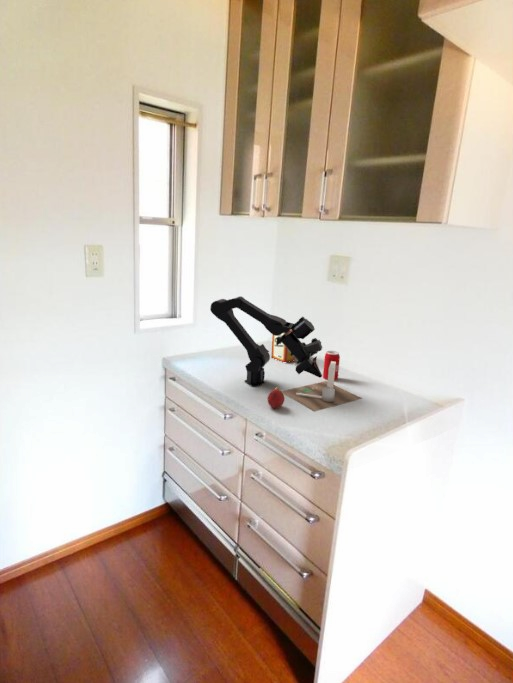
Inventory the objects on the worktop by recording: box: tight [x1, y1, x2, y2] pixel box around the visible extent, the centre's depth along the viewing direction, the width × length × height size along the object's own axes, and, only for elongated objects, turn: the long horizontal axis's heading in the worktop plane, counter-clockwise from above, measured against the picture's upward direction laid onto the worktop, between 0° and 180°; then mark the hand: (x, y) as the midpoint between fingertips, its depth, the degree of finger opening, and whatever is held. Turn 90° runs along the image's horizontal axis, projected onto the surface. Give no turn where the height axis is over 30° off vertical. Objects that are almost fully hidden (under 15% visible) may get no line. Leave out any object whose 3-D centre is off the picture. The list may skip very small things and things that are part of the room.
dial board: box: [280, 380, 363, 412], centre depth 156 cm, size 24×20×1 cm
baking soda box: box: [270, 330, 296, 363], centre depth 196 cm, size 10×6×16 cm
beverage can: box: [322, 350, 341, 382], centre depth 173 cm, size 6×6×12 cm
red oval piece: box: [267, 386, 285, 409], centre depth 143 cm, size 6×6×8 cm
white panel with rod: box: [296, 361, 336, 402], centre depth 155 cm, size 13×14×12 cm
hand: (321, 376), depth 157 cm, fingers closed
